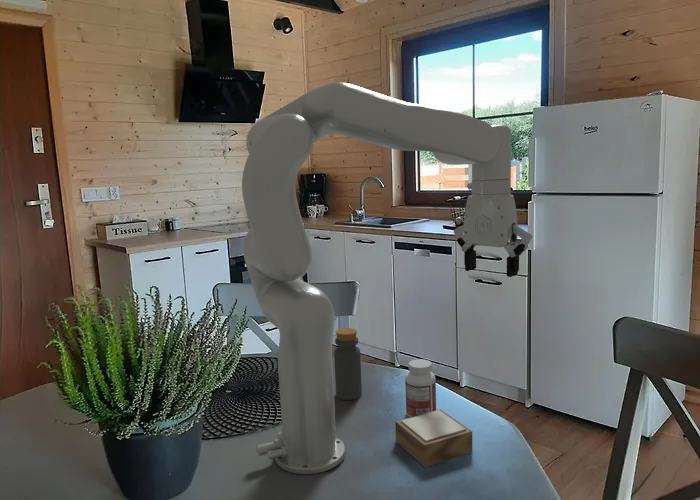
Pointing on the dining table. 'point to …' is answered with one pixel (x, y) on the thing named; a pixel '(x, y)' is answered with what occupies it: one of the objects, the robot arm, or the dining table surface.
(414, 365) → the pill bottle
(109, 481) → the dining table surface
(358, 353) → the bottle
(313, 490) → the dining table surface
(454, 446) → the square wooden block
